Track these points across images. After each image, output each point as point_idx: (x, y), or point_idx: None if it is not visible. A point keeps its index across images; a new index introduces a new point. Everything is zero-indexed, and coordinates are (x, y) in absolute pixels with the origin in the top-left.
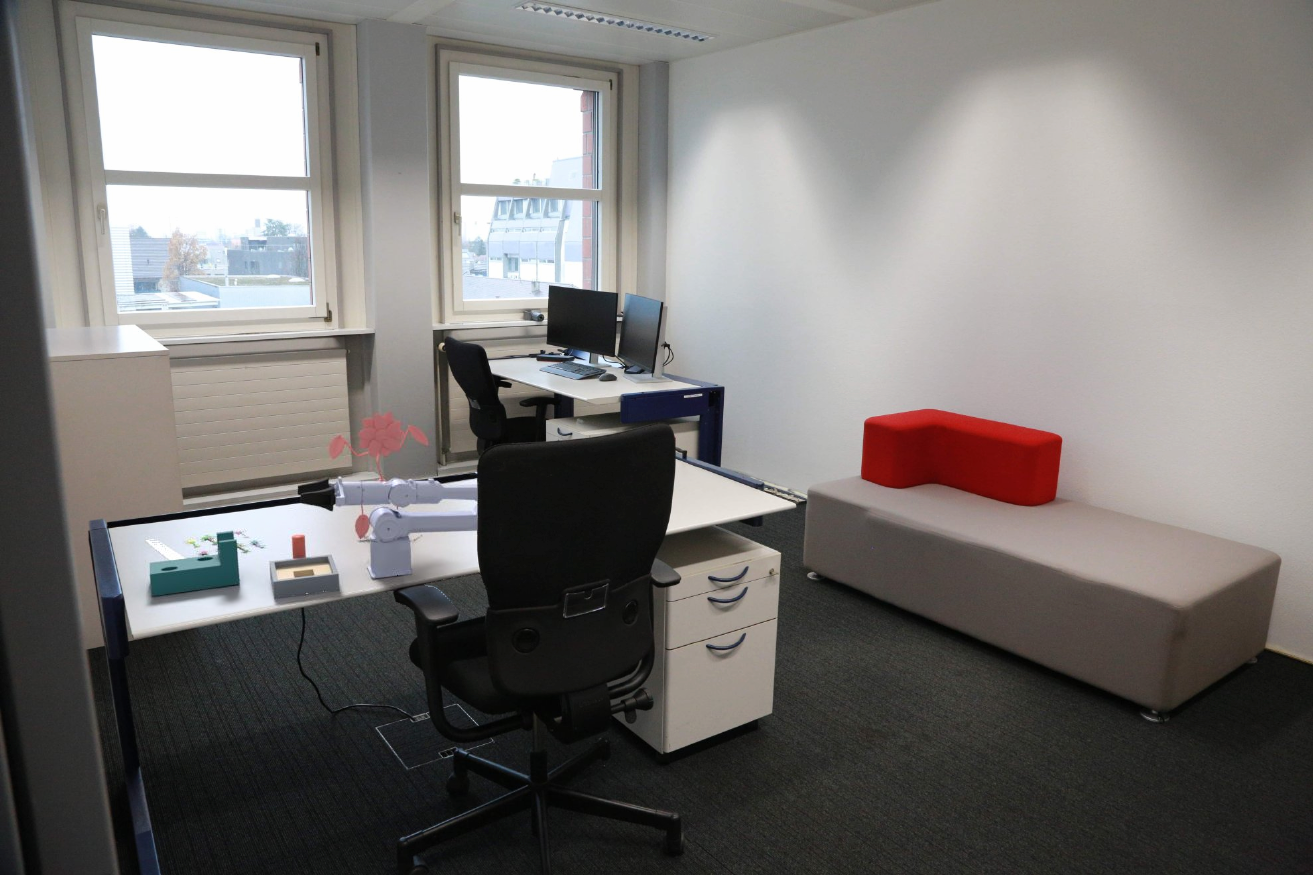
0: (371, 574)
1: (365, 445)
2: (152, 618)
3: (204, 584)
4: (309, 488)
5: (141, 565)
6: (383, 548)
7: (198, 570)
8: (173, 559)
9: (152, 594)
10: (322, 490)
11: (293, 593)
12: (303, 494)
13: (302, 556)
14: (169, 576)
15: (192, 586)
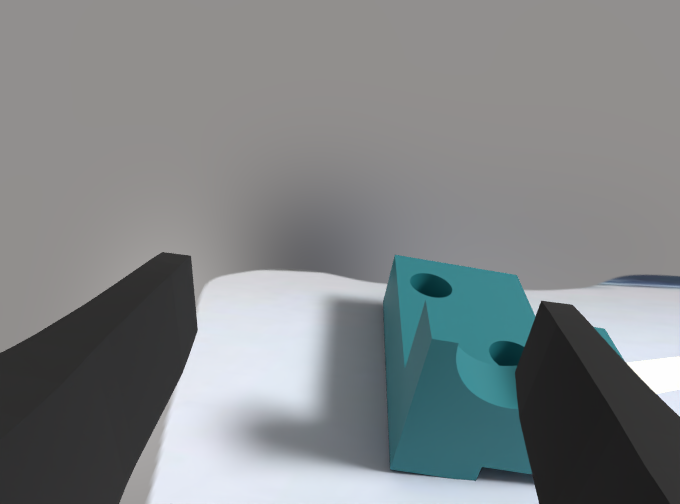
0: None
1: None
2: (245, 293)
3: (389, 375)
4: (570, 428)
5: (623, 314)
6: None
7: (398, 329)
8: (675, 365)
9: (383, 300)
10: (3, 395)
11: None
12: (144, 264)
13: None
14: (393, 289)
15: (388, 353)
